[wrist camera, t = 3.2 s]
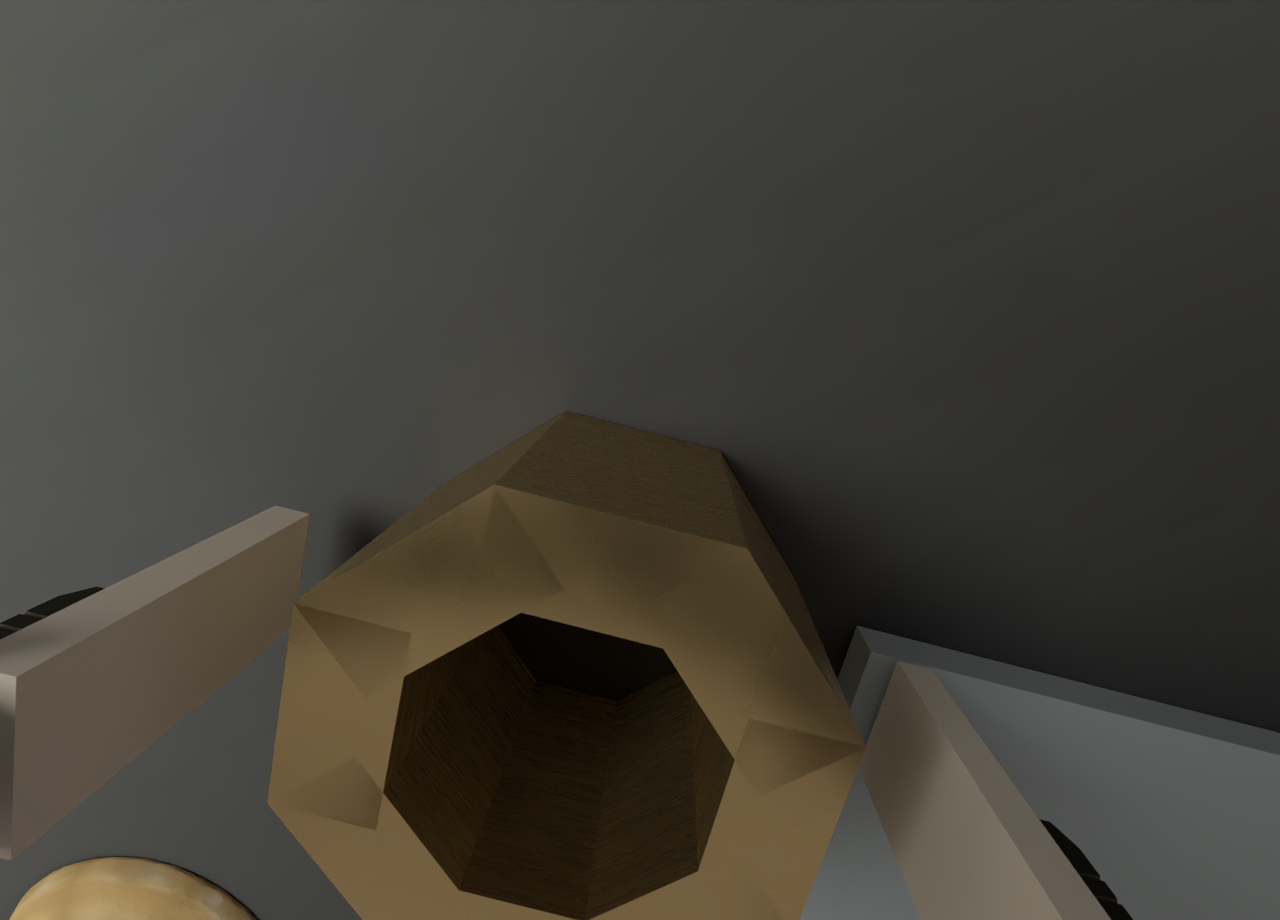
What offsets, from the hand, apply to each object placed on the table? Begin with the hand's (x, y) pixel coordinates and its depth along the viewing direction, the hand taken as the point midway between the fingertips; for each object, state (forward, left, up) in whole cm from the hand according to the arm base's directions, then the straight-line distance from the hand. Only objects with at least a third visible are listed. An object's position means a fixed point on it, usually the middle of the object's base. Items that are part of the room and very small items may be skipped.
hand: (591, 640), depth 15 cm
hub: (0, 0, -1) cm, 1 cm away
